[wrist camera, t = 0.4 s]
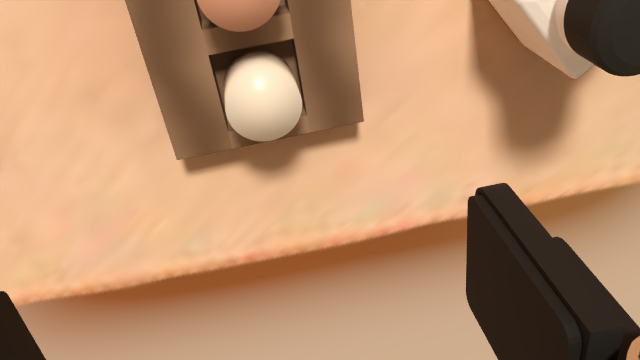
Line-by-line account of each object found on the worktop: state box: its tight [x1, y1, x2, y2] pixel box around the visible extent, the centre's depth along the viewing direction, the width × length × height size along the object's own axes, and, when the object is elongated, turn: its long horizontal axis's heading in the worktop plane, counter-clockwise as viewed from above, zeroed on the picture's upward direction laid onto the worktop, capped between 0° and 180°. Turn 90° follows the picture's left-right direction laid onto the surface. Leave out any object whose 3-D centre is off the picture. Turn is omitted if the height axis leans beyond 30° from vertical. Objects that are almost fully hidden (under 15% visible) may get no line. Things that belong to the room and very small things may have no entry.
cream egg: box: [224, 51, 302, 141], centre depth 35 cm, size 5×5×4 cm
